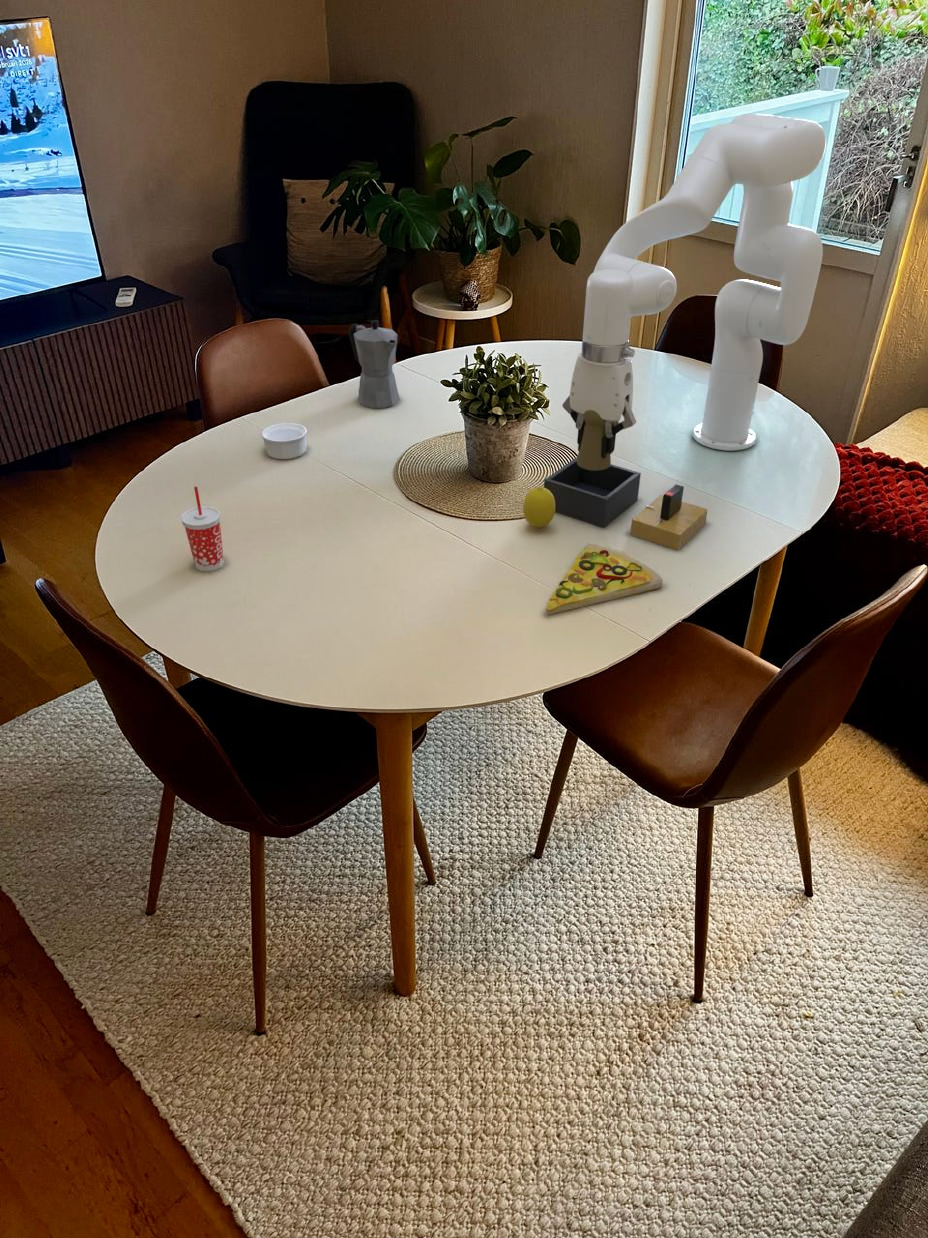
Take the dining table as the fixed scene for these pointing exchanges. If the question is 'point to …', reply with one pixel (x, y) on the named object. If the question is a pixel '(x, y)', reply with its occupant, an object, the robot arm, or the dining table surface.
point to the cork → (593, 443)
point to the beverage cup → (204, 536)
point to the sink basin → (593, 492)
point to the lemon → (539, 507)
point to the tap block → (668, 524)
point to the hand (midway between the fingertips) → (595, 451)
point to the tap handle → (671, 502)
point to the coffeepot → (375, 364)
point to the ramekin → (285, 440)
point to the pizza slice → (601, 579)
